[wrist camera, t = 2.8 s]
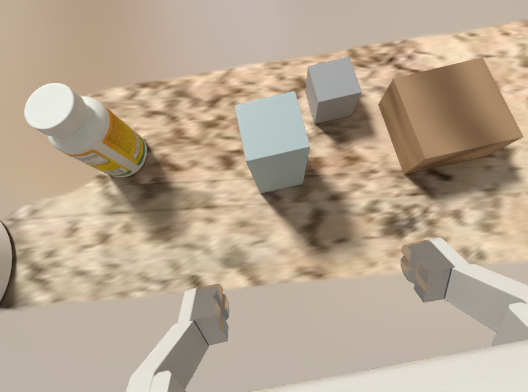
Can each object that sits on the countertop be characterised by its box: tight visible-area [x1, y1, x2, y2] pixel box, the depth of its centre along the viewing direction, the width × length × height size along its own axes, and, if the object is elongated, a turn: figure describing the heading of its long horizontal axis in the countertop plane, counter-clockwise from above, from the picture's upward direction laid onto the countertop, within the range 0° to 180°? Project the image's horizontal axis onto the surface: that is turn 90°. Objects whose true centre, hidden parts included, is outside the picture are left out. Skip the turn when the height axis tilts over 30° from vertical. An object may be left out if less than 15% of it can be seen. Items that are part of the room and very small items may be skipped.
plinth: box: [378, 57, 523, 174], centre depth 24 cm, size 8×8×4 cm
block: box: [306, 57, 361, 124], centre depth 26 cm, size 4×4×4 cm
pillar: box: [235, 91, 310, 194], centre depth 22 cm, size 4×4×9 cm
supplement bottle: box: [25, 83, 147, 177], centre depth 24 cm, size 5×5×10 cm
